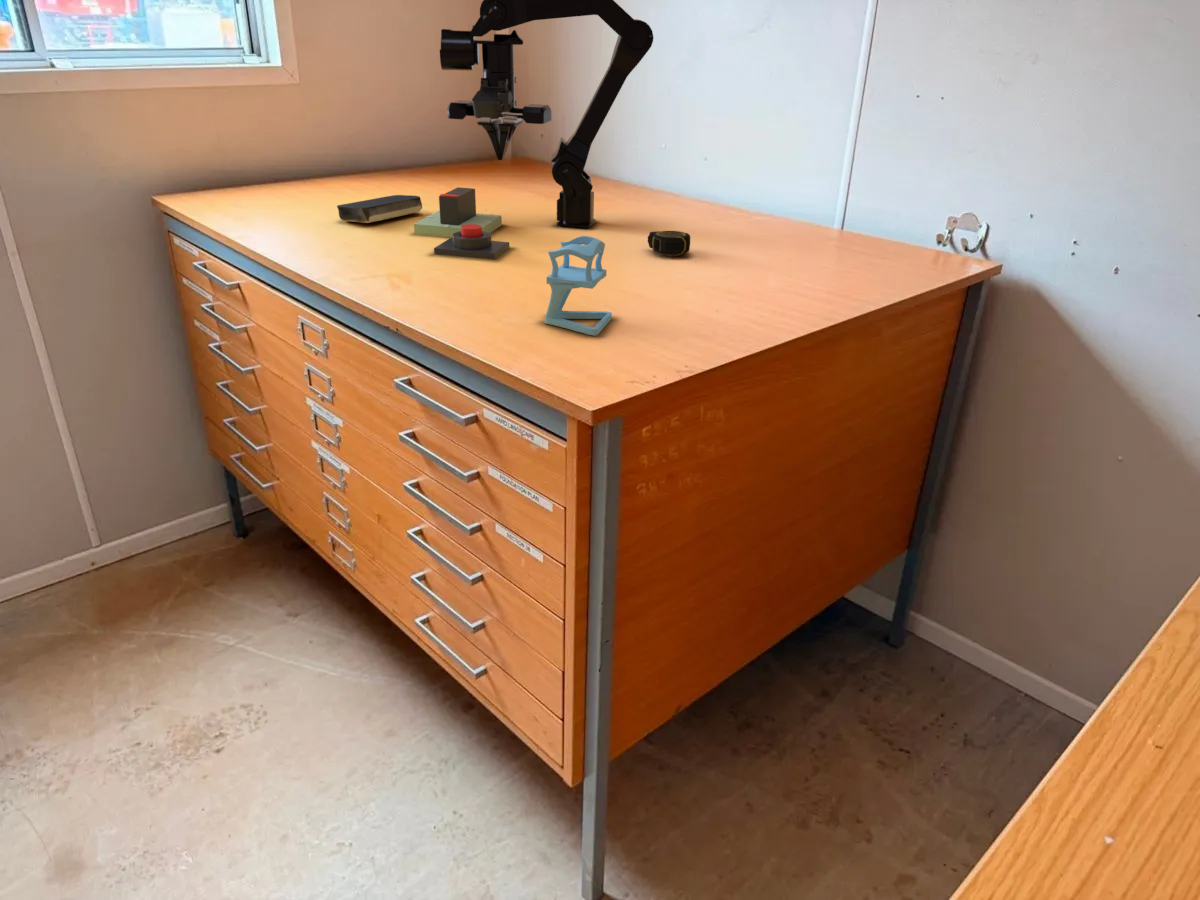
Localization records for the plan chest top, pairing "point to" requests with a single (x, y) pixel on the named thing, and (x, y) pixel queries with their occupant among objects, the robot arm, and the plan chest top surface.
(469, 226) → the button
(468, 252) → the button box
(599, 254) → the chair
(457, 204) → the block
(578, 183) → the robot arm
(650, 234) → the tape measure
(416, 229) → the pale green square pad
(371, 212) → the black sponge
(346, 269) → the plan chest top surface
